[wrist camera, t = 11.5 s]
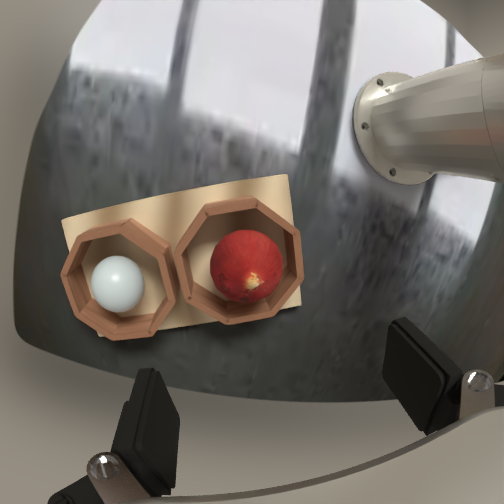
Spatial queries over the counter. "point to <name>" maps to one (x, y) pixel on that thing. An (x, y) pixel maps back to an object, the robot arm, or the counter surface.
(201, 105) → the counter surface
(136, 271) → the white ball
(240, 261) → the onion
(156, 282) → the pot board
